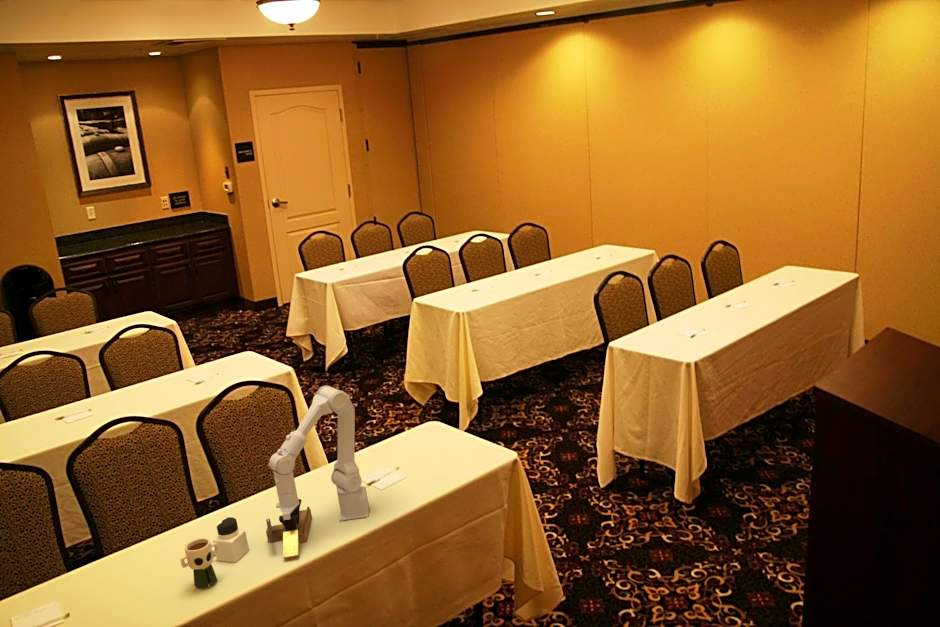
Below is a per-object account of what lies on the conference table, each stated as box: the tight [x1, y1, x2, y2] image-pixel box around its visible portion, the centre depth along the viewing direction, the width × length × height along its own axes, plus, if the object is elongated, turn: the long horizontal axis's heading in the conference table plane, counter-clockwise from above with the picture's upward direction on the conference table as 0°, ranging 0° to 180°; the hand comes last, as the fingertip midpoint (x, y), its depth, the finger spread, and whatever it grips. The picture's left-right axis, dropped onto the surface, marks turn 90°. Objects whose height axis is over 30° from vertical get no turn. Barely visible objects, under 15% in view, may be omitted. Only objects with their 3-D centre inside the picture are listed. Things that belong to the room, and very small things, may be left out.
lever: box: [265, 518, 274, 544], centre depth 240 cm, size 11×1×3 cm, turn 18°
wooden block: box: [282, 530, 300, 561], centre depth 235 cm, size 4×8×2 cm
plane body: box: [265, 506, 313, 544], centre depth 249 cm, size 12×16×4 cm
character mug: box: [180, 537, 218, 590], centre depth 224 cm, size 11×7×13 cm, turn 131°
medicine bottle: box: [212, 516, 250, 563], centre depth 238 cm, size 7×7×12 cm
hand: (294, 529), depth 243 cm, fingers open, 7 cm apart
